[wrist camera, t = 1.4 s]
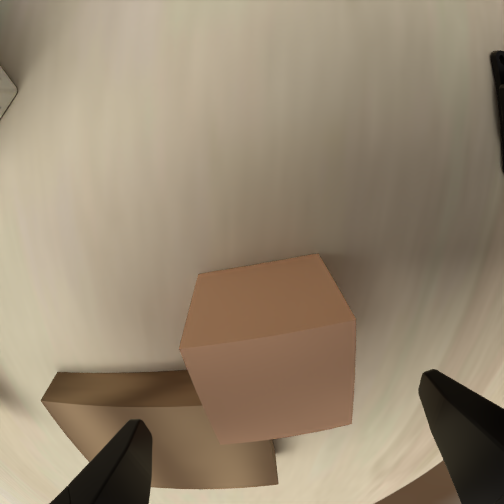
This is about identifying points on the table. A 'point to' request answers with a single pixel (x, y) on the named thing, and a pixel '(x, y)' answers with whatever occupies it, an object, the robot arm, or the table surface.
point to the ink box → (6, 91)
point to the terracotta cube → (271, 350)
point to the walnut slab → (157, 428)
